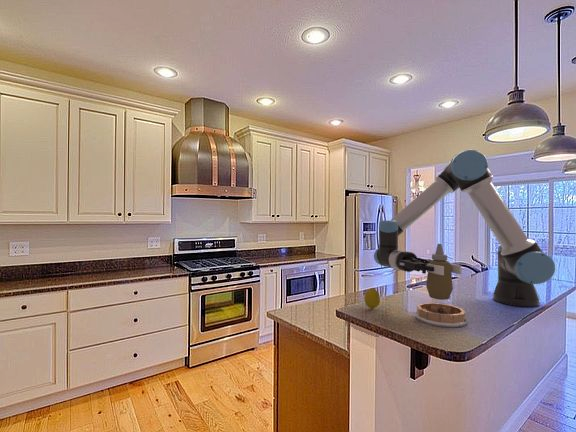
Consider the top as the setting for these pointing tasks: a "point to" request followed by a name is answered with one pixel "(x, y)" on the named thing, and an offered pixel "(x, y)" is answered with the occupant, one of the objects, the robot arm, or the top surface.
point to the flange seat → (441, 315)
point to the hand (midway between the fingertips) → (451, 270)
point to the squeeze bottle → (440, 277)
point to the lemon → (372, 298)
